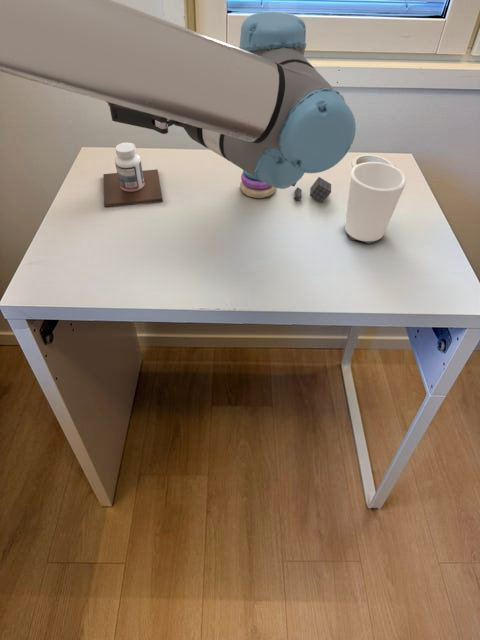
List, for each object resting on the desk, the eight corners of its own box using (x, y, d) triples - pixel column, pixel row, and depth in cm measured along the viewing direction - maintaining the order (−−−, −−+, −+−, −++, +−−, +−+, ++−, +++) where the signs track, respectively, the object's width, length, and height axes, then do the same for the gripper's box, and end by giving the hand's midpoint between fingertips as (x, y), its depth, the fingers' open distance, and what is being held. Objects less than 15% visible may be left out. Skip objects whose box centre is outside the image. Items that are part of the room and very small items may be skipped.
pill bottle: (131, 176, 103) (124, 138, 97) (149, 184, 102) (144, 145, 95) (114, 187, 100) (106, 148, 94) (133, 195, 99) (126, 155, 92)
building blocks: (331, 192, 97) (299, 173, 95) (315, 210, 101) (284, 193, 99) (331, 184, 99) (299, 165, 97) (316, 202, 103) (285, 185, 101)
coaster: (104, 207, 97) (104, 204, 96) (104, 177, 105) (103, 173, 104) (162, 201, 99) (162, 198, 98) (157, 172, 106) (157, 169, 106)
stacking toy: (282, 187, 103) (291, 100, 90) (264, 203, 99) (270, 115, 85) (252, 176, 106) (256, 90, 92) (233, 192, 101) (234, 104, 88)
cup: (399, 236, 92) (418, 178, 83) (365, 255, 88) (381, 196, 78) (361, 213, 97) (376, 155, 88) (328, 229, 93) (339, 171, 84)
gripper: (151, 176, 65) (77, 123, 76) (277, 125, 77) (197, 85, 87) (144, 124, 60) (65, 74, 70) (281, 77, 71) (195, 40, 82)
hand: (138, 80), depth 79 cm, fingers open, 13 cm apart
